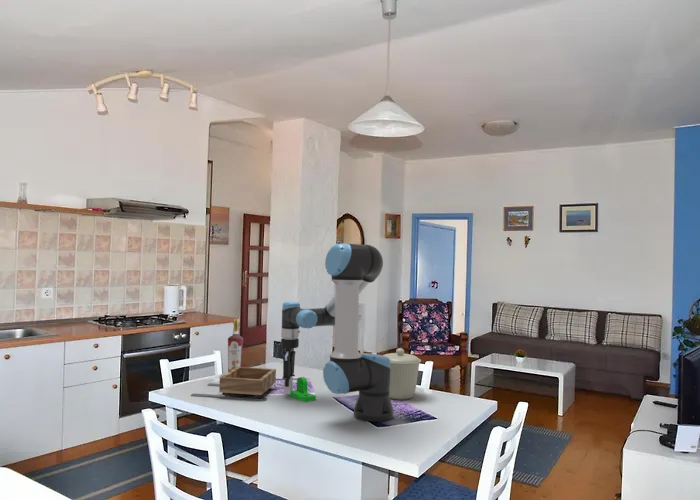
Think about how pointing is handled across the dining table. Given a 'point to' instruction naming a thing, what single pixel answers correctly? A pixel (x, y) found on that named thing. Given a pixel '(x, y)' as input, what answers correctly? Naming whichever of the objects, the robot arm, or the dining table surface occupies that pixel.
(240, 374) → the wooden crate
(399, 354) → the canister
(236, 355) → the liquor
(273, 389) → the cart rails
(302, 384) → the mechanical part
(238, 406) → the dining table surface
